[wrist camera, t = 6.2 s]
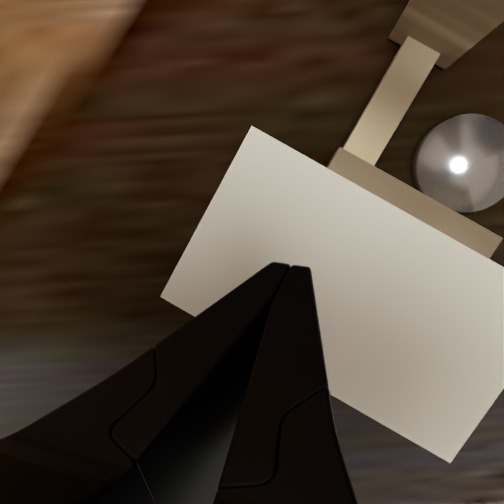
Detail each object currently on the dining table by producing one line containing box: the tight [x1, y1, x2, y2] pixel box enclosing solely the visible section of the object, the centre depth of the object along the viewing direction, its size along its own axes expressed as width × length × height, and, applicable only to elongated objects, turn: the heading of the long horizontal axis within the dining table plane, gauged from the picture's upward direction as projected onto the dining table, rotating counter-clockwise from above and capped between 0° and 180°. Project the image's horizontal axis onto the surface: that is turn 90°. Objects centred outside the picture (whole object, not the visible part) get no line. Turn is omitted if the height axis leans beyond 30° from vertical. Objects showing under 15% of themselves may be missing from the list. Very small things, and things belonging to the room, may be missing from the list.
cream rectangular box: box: [160, 126, 504, 463], centre depth 20 cm, size 8×14×4 cm, turn 61°
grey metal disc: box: [411, 114, 504, 212], centre depth 20 cm, size 4×4×1 cm
